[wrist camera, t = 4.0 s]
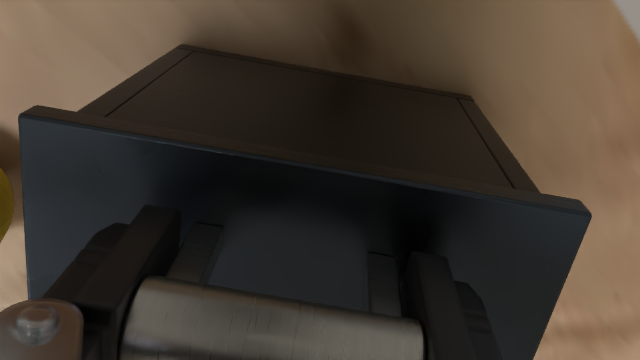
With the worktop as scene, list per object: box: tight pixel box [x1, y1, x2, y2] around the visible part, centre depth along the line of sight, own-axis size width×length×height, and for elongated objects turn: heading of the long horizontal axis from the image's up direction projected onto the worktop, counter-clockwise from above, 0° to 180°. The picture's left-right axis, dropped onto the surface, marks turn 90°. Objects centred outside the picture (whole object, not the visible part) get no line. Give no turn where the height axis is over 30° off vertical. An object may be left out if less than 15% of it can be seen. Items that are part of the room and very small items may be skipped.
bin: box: [77, 45, 540, 193], centre depth 21 cm, size 14×13×12 cm
